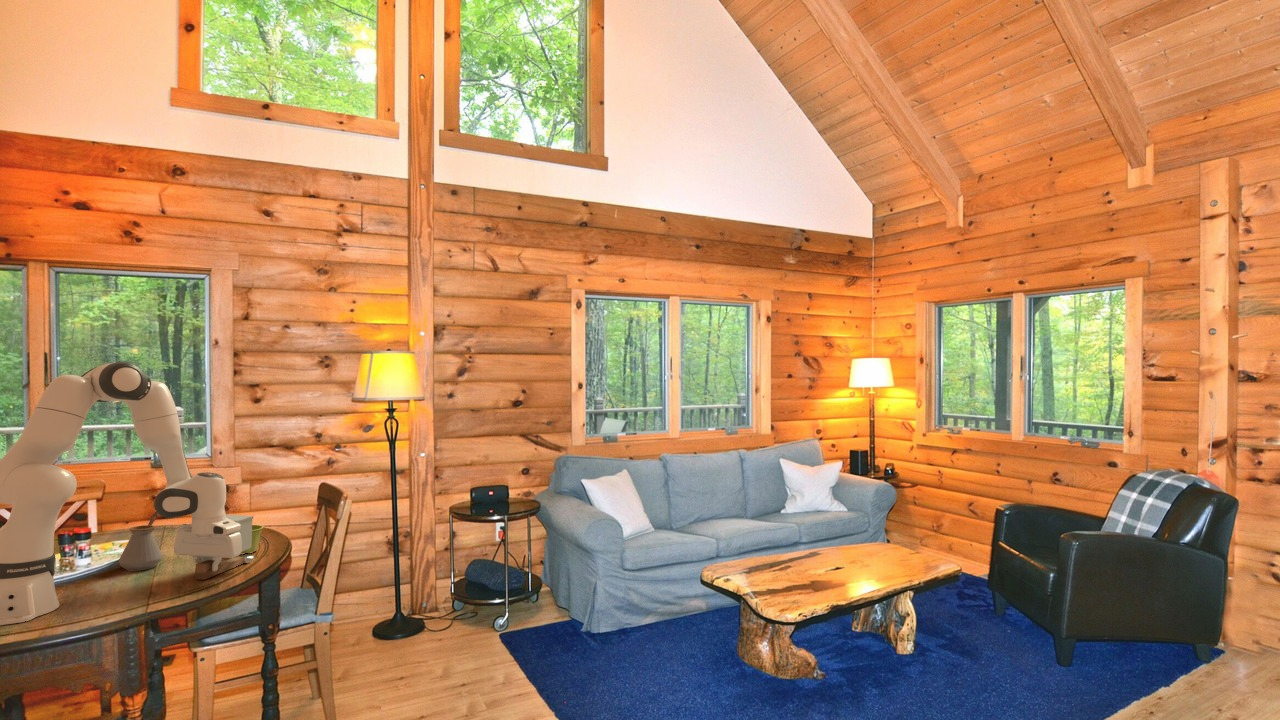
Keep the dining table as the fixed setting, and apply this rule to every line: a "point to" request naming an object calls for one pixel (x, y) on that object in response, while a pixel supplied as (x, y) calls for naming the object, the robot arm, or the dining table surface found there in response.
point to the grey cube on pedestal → (241, 531)
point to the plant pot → (254, 538)
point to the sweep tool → (204, 572)
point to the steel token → (247, 558)
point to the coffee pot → (141, 549)
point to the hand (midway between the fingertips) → (207, 570)
